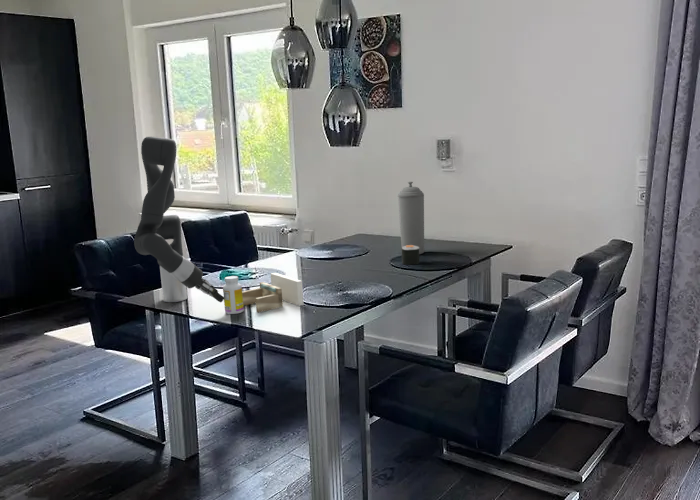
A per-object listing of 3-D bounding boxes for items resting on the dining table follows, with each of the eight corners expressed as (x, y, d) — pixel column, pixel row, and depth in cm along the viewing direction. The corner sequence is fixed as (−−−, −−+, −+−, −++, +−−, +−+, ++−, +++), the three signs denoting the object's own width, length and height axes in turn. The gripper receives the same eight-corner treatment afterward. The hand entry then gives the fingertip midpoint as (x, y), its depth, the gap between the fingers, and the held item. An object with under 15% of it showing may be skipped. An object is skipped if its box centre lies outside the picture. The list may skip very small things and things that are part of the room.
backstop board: (272, 295, 264) (270, 273, 262) (276, 294, 265) (275, 272, 263) (298, 305, 248) (297, 281, 246) (303, 304, 249) (301, 280, 247)
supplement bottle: (244, 309, 247) (242, 274, 245) (242, 314, 241) (239, 278, 238) (226, 310, 247) (223, 275, 245) (223, 315, 241) (220, 280, 238)
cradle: (240, 305, 253) (239, 286, 252) (264, 299, 258) (263, 282, 257) (258, 312, 242) (256, 293, 240) (282, 306, 247) (281, 288, 246)
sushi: (403, 265, 306) (402, 248, 304) (401, 261, 314) (400, 244, 312) (420, 264, 306) (420, 246, 304) (418, 260, 314) (417, 243, 313)
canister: (431, 252, 331) (429, 180, 324) (413, 256, 322) (411, 183, 316) (412, 249, 340) (409, 179, 333) (394, 254, 332) (391, 182, 325)
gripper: (200, 266, 227) (236, 294, 236) (185, 260, 238) (220, 288, 247) (186, 284, 225) (223, 312, 234) (172, 278, 236) (208, 305, 245)
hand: (221, 299), depth 240 cm, fingers closed
